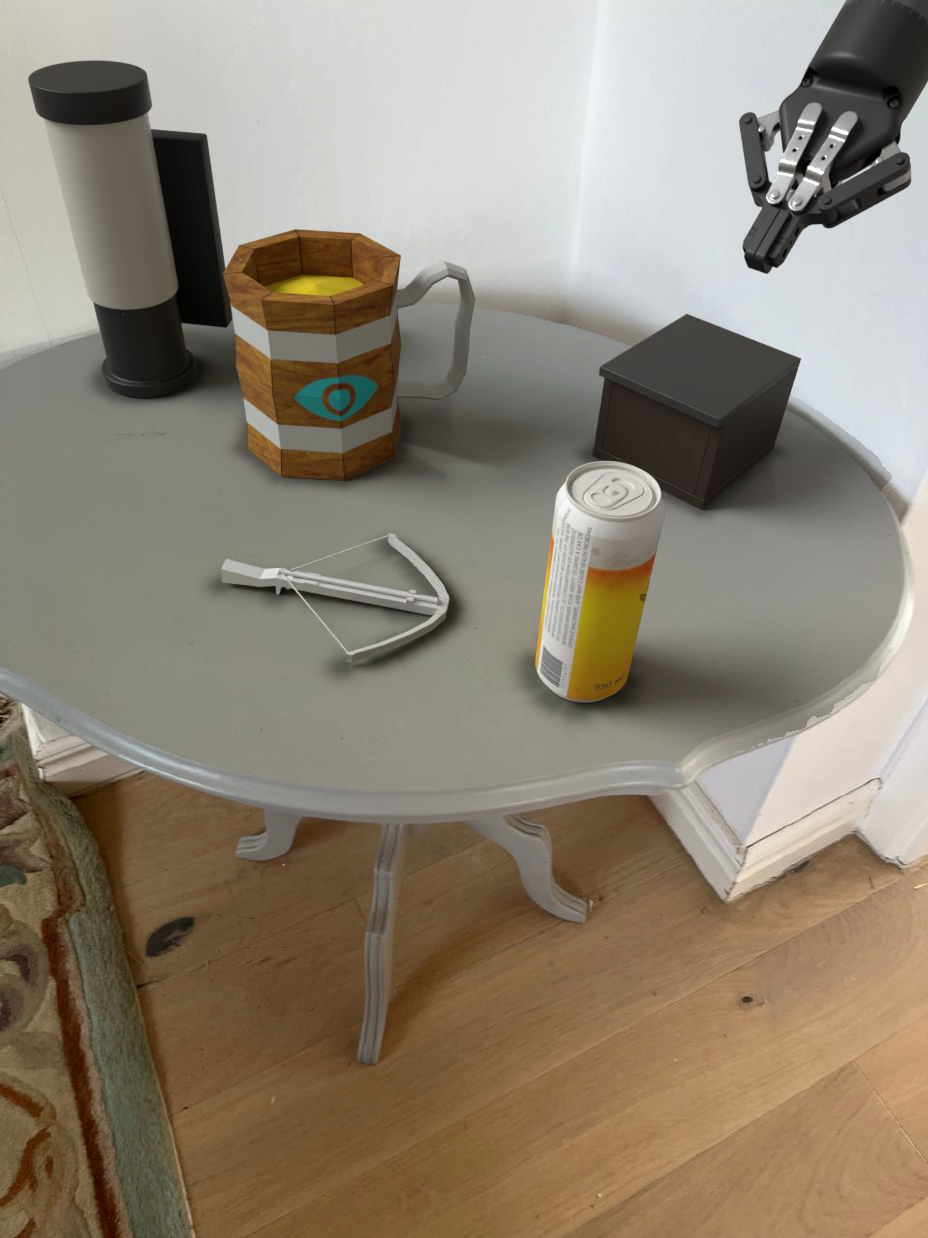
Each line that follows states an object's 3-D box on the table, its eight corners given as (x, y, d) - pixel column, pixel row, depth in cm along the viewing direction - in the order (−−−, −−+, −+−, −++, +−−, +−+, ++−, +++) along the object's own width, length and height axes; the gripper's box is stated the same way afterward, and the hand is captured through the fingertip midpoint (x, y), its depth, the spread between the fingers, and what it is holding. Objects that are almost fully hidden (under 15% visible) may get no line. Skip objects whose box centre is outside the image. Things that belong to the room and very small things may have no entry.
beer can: (645, 674, 63) (690, 489, 53) (587, 724, 60) (624, 537, 50) (573, 628, 66) (603, 444, 56) (515, 673, 63) (535, 487, 52)
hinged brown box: (701, 509, 76) (723, 424, 71) (592, 455, 81) (604, 371, 76) (773, 449, 83) (798, 367, 78) (667, 402, 88) (684, 322, 82)
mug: (261, 494, 76) (237, 315, 65) (233, 406, 85) (208, 237, 74) (494, 455, 81) (506, 284, 70) (444, 376, 90) (449, 214, 80)
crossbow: (461, 563, 72) (464, 542, 70) (428, 686, 63) (431, 665, 61) (253, 524, 73) (252, 502, 71) (192, 641, 64) (189, 618, 62)
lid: (717, 428, 70) (720, 419, 70) (598, 375, 75) (599, 366, 75) (798, 367, 77) (801, 358, 77) (684, 321, 82) (686, 313, 82)
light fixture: (68, 391, 86) (-18, 85, 69) (117, 333, 94) (51, 45, 76) (199, 405, 85) (145, 98, 68) (237, 345, 93) (197, 57, 76)
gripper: (793, -24, 64) (660, 209, 66) (990, 12, 58) (838, 268, 60) (807, 52, 71) (686, 263, 73) (986, 92, 65) (849, 321, 66)
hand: (755, 265), depth 66 cm, fingers closed
